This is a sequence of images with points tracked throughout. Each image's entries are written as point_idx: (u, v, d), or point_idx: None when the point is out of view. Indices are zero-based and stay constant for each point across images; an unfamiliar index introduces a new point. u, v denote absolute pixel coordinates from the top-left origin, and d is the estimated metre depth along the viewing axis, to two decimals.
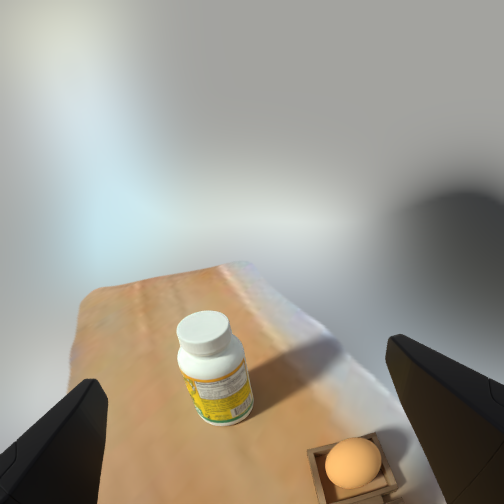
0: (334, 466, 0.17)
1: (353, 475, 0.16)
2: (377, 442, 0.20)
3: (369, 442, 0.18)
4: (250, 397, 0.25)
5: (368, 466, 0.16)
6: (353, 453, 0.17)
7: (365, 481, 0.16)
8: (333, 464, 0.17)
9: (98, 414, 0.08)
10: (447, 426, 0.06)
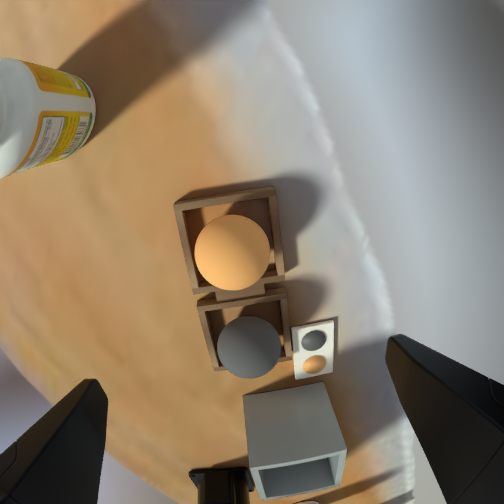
0: (203, 272, 0.16)
1: (227, 289, 0.17)
2: (274, 207, 0.18)
3: (255, 247, 0.16)
4: (84, 120, 0.14)
5: (246, 284, 0.16)
6: (228, 271, 0.15)
7: None
8: (202, 270, 0.16)
9: (98, 414, 0.08)
10: (448, 426, 0.06)
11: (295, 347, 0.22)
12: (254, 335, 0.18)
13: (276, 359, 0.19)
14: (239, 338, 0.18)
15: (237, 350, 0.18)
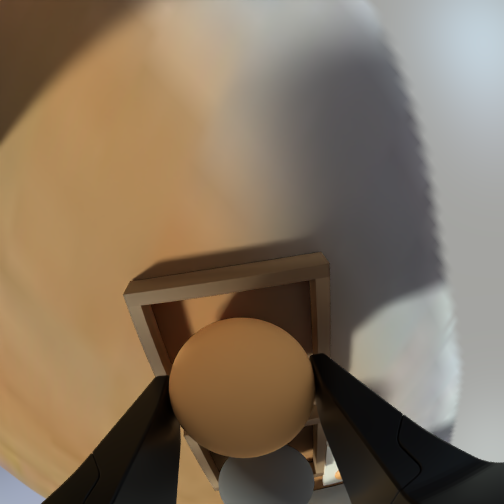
0: (188, 434, 0.07)
1: None
2: (325, 297, 0.09)
3: (293, 405, 0.07)
4: None
5: None
6: (236, 449, 0.06)
7: None
8: (185, 431, 0.07)
9: None
10: (353, 461, 0.06)
11: (329, 461, 0.13)
12: (277, 486, 0.09)
13: (307, 503, 0.10)
14: (253, 491, 0.09)
15: None
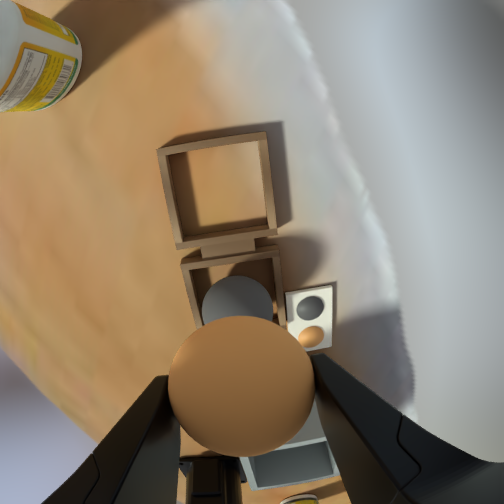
0: (187, 433, 0.07)
1: None
2: (265, 151, 0.16)
3: (292, 404, 0.07)
4: (68, 64, 0.12)
5: None
6: (236, 448, 0.06)
7: None
8: None
9: None
10: (353, 460, 0.06)
11: (290, 316, 0.20)
12: (242, 294, 0.16)
13: None
14: (225, 297, 0.16)
15: (223, 310, 0.16)
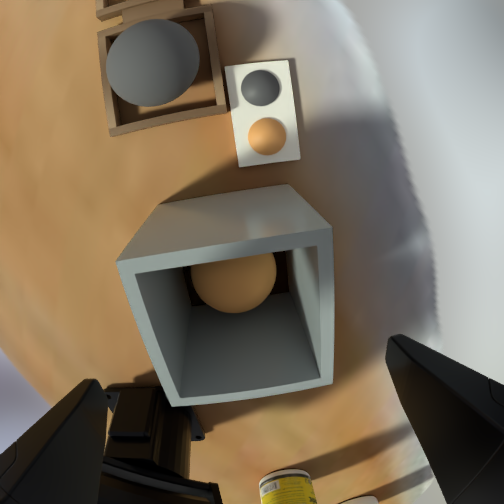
0: (201, 294, 0.14)
1: (227, 312, 0.15)
2: None
3: (260, 267, 0.14)
4: None
5: (250, 307, 0.14)
6: (229, 294, 0.13)
7: None
8: (199, 292, 0.14)
9: (98, 414, 0.08)
10: (447, 426, 0.06)
11: (233, 98, 0.14)
12: (154, 20, 0.10)
13: (185, 54, 0.10)
14: (133, 25, 0.10)
15: (125, 34, 0.09)
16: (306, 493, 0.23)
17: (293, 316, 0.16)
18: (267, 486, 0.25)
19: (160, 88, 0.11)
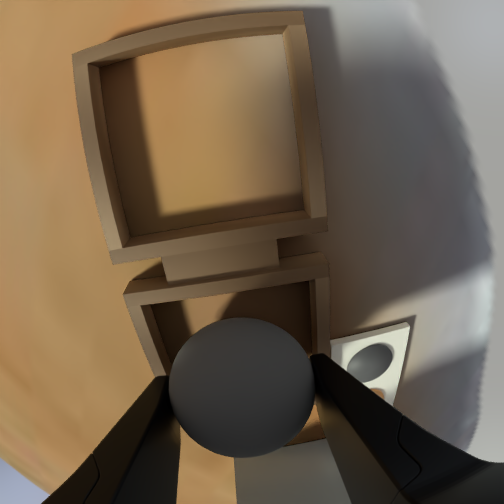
0: None
1: None
2: (302, 48, 0.06)
3: None
4: None
5: None
6: None
7: None
8: None
9: None
10: (353, 461, 0.06)
11: None
12: (254, 368, 0.07)
13: (306, 419, 0.07)
14: (215, 376, 0.07)
15: (210, 406, 0.06)
16: None
17: None
18: None
19: None
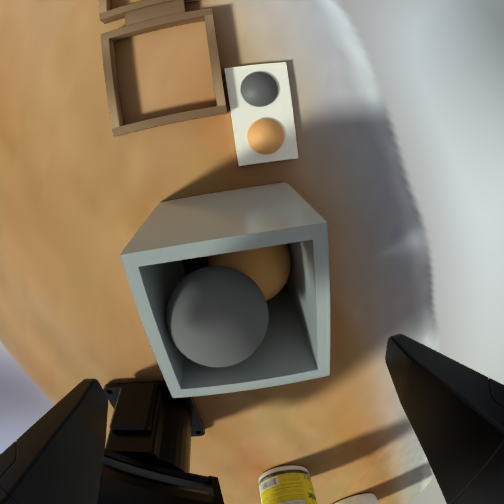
0: None
1: None
2: None
3: (285, 251, 0.15)
4: None
5: (277, 292, 0.15)
6: (265, 281, 0.14)
7: None
8: None
9: (98, 414, 0.08)
10: (447, 426, 0.06)
11: (232, 99, 0.14)
12: (188, 304, 0.11)
13: (213, 360, 0.11)
14: (176, 293, 0.11)
15: (168, 307, 0.12)
16: (305, 489, 0.24)
17: (291, 311, 0.16)
18: (266, 482, 0.25)
19: None
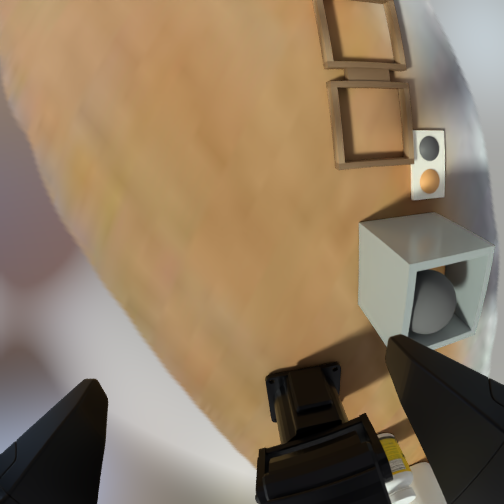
0: None
1: None
2: (393, 9, 0.15)
3: None
4: None
5: None
6: None
7: None
8: None
9: (98, 414, 0.08)
10: (447, 426, 0.06)
11: (414, 153, 0.19)
12: (430, 293, 0.16)
13: (436, 327, 0.16)
14: (417, 288, 0.16)
15: None
16: (399, 451, 0.29)
17: None
18: None
19: (417, 332, 0.17)
